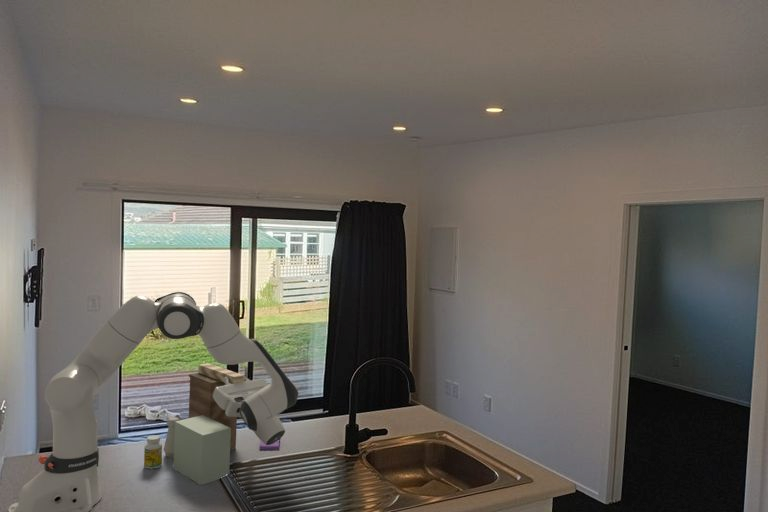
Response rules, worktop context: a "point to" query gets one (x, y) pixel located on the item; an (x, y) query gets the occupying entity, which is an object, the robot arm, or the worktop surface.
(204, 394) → the walnut block
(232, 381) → the beech bar
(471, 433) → the worktop surface
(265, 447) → the sponges
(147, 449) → the supplement bottle
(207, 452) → the pale green block
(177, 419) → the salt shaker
